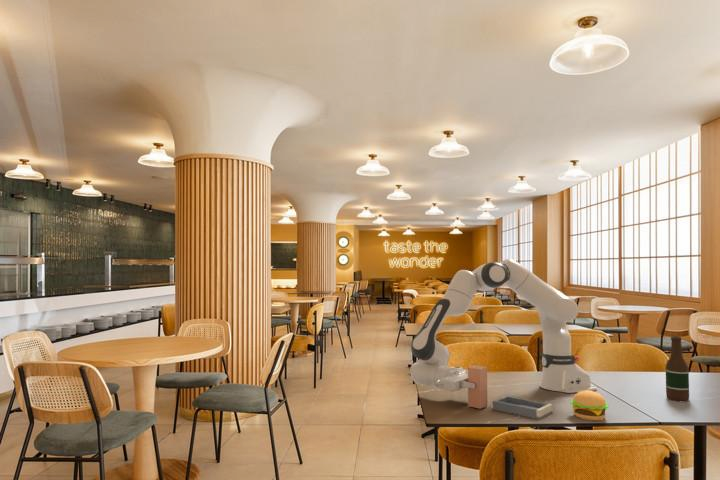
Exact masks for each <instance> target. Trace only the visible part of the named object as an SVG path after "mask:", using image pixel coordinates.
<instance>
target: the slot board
mask: <svg viewBox="0 0 720 480" xmlns="http://www.w3.org/2000/svg"><path fill="white" fill-rule="evenodd" d="M492 410H494V411H496V412H497V411H498V412H503V413H507V414H512V413H513V415H516V414H519V415H518V416H521V415H524V416H523V417H526V416H527V418H530V417H533V418H532V419H535V418H537V420H542V419H544V418H546V417H548V416H550V415H552V414H553V404H552V403H548V402H542V401H537V400H530V399H526V398H521V397H514V396H510V395H505V396H502V397H499V398H497V399H494V400H493V401H492Z"/></svg>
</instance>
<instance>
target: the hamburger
mask: <svg viewBox="0 0 720 480" xmlns="http://www.w3.org/2000/svg"><path fill="white" fill-rule="evenodd" d="M570 404H571V405H572V411H573V415H574V416H575V417H577V418H578V417H579V418H578V419H581V418H582V419H581V420H585V419H586V421H592V420H599V421H602V419H603V420H605V419H606V417H607V416H606V415H607V414H606V411H607V409H608V408H609V406H610V405H608V403H607V402H606V399H605V398H604V396H603V395H601V393H599V392H596V391H589V390H585V391H581V392H576V393H575V394H574V396H573V398H572V399H570Z"/></svg>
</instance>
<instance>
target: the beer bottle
mask: <svg viewBox="0 0 720 480" xmlns="http://www.w3.org/2000/svg"><path fill="white" fill-rule="evenodd" d="M670 340H671V343H670V344H671V346H670V348H671V349H670V350H671V351H670V357H669V359H668V360H667V361H666V364H665V393H666V394H665V395H666V399H667V398H668V400H670V401H673V400H674V401H673V402H680V401H686V402H689V400H690V379H689V377H690V373H689V372H690V371H689V365H688V363H687V361H686V360H685V358H684V356H683V349H682V340H683V339H682V337H681V336H674V335H673V336H671V337H670Z"/></svg>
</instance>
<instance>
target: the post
mask: <svg viewBox="0 0 720 480" xmlns="http://www.w3.org/2000/svg"><path fill="white" fill-rule="evenodd" d="M467 370H468V382H474V383H476V388H467V398H468V399H467V400H468V401H467V406H468V407H470V408H475V409H480V410H481V409H483V408H486V407H488V367H487V366H482V365H470V366H467Z"/></svg>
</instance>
